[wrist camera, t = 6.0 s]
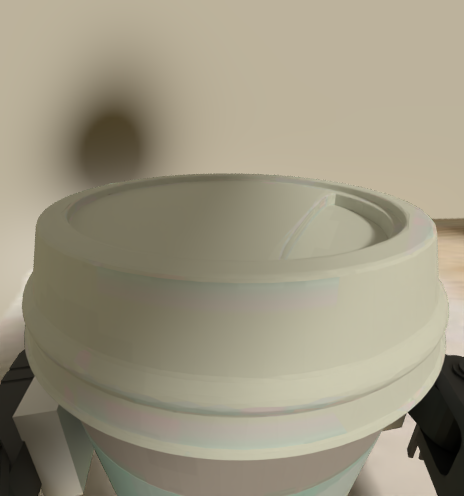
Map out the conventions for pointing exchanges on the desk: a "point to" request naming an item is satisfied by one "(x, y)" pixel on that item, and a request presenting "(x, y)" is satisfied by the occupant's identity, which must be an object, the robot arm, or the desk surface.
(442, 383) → the robot arm
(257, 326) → the coffee cup
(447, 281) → the desk surface
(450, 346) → the desk surface
